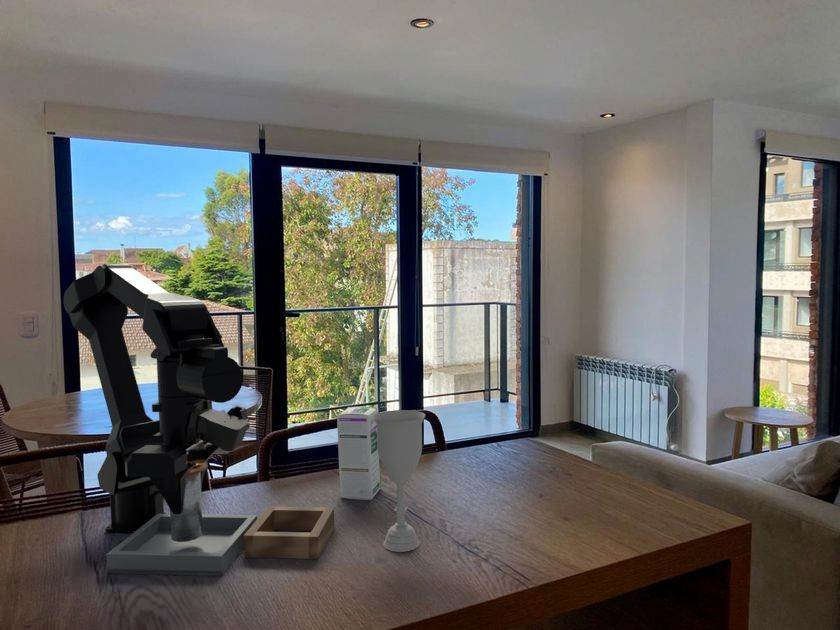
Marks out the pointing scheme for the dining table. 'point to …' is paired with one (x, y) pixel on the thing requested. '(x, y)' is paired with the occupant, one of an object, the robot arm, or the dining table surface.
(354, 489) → the syrup box
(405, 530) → the chalice
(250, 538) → the square wooden frame
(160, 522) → the tray
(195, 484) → the glass jar
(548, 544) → the dining table surface
